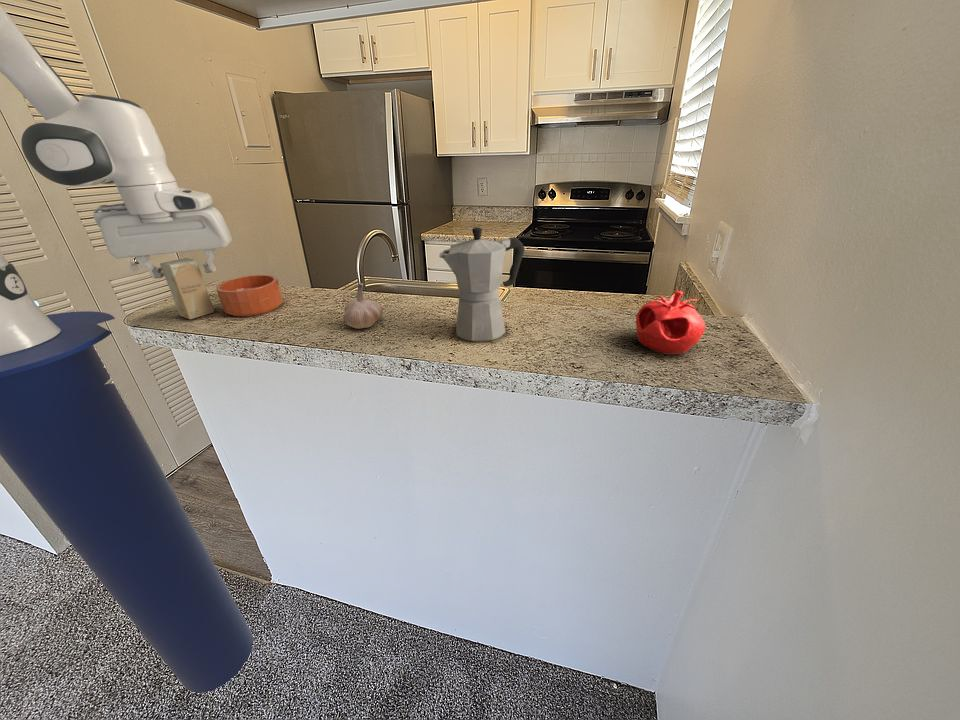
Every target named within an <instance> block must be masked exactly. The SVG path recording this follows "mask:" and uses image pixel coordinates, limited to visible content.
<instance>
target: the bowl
mask: <svg viewBox="0 0 960 720" xmlns="http://www.w3.org/2000/svg"><path fill="white" fill-rule="evenodd" d="M215 290H216V292H217V295H218V298H219V301H220V304H221V307H222V309H223V313H225V314H227V315H230V316H233V317H252V316H259V315H262V314H266V313H268V312H269V313H270V312H271V311H274V310H276V309H277V308H278V307H280V306H281V304H282V303H283V302H284V297H283V294H282V291H281V287H280V283H279V279H278V278H277V276H275V275H272V274H250V275H244V276H238V277H234V278H230V279H227V280H225V281H222V282H220V283H219V284H217V285H216V286H215Z"/></svg>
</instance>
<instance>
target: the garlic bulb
mask: <svg viewBox="0 0 960 720" xmlns="http://www.w3.org/2000/svg"><path fill="white" fill-rule="evenodd" d="M383 312H384V309H383V306H382V305H381V304H380V303H379V302H378V301H376V300H372V299H368V298H365V297H364V283H363V282H358V283H357V297H355V298H353V299H352V300H350V301H349V302H347V304H346V305H345V308H344V315H343V320H344V322H345V324H346V325H347V326H349V327H351V328H354V329H357V330H360V329H365V328H367V329H368V328H370V327H372V326H374V324H375V323H376V322H377V321H379V319H381V317H382V316H383Z"/></svg>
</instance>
